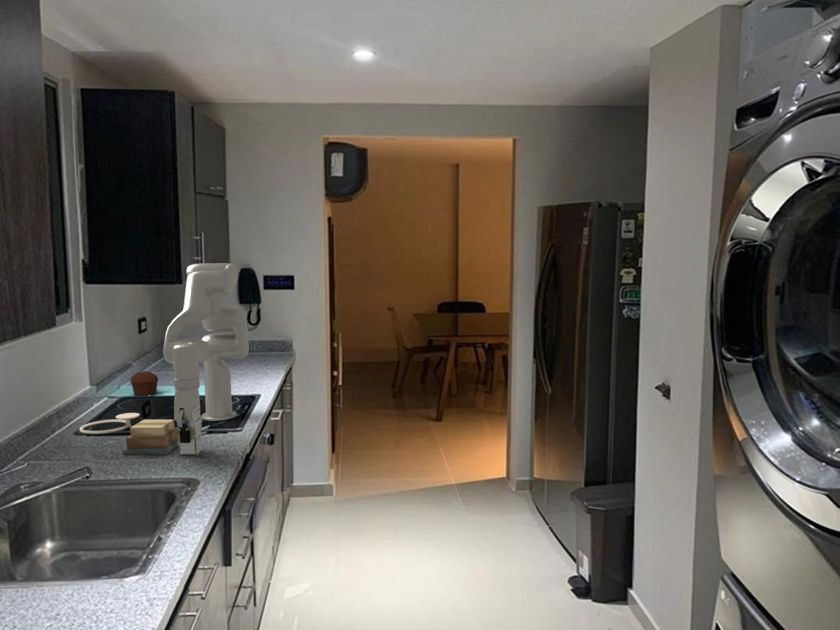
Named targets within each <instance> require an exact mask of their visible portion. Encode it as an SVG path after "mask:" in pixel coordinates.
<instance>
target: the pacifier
mask: <svg viewBox="0 0 840 630" xmlns="http://www.w3.org/2000/svg"><path fill="white" fill-rule="evenodd" d="M203 420H204V419H203V418H202V415H200V430H201V436H202V435H205V434H207V433H208V431H207V430H208V429H209V427H210V425H207V426H204V427H202V423H203Z"/></svg>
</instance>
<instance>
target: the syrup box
mask: <svg viewBox="0 0 840 630" xmlns="http://www.w3.org/2000/svg"><path fill="white" fill-rule="evenodd" d="M200 416H201V406H200V407H199V406H198V407H196V408H195V409H193V410H192V420H191V421H190V423H189V430H190V437H191V442H190V443H180V433H179V427H178V424H177V423H176V424H177V428H178V444H179V445H178V456H193V455H194V456H195V455H196V456H197V455H199V453H200V452H201V451H202V449H203V448H202V435H201V430H200ZM183 420H187V418H183ZM185 425H186V423H185Z"/></svg>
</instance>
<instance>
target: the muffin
mask: <svg viewBox="0 0 840 630" xmlns="http://www.w3.org/2000/svg"><path fill="white" fill-rule="evenodd" d="M158 381H159V377H158V375H156V374H155V373H154V372H151V371H139V372H136V373H135V374H133V375H132V377H130V379H129V382H130V383H131V386H132V392H133V395H134V396H148V395H153V396H155V395H157V389H158V388H157V387H158ZM154 394H155V395H154ZM148 397H149V396H148Z"/></svg>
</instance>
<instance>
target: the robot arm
mask: <svg viewBox="0 0 840 630" xmlns="http://www.w3.org/2000/svg"><path fill="white" fill-rule="evenodd" d="M238 275H239V274H238V268H237V267H236V266H235V264H233V263H230V262H224V263H223V262H217V263H215V262H214V263H209V262H207V263H205V262H202V263H201V262H200V263H193V264H190V265H189V266H187V268H186V277H187V278H186V283H185V291H184V292H185V293H184V299H183V306H182V307H183V309H182V311H181V312H180V313H179V314H177V315H176V316H175V317H174V318H173V319H172V321H171V322H170V324H169V325H168V326H167V329H166V330H165V335H164V342H163V350H162V353H163V358H164V360H165V361H166V362H167V363H168V364H172V366H173V368H172V369H173V385H174V390H175V391H174V400H173V405H174V406H173V409H174V410H173V411H174V413H173V414H174V415H173V416H174V419H173V420H174V422H176V424H178V425H177V428H178V427H179V433H180V443H190V442H191V437H190V430H189V423H190V421H191V420H192V410H193V409H195V408H196V407H198V406H199V407H200V408H201V399H200V392H199V388H200V387H201V386H200V385H201V383H200V381H201V380H200V365H199V364H203V365H202V367H203V378H204V379H203V380H204V381H203V382H204V383H203V384H204V400H205V412H204V413H202V415H201V416H202V418H203V420H204V421H208V422H210V421H211V422H216V421H217V422H219V421H226V420H230V419H234V418H235V417H236V416H237V412H236V411H235V410H233V401H232V399H233V398H232V382H231V380H232V379H231V375H232V374H231V369H230V367H229V365H228V364H227V363H226V362H225V360H235V359H237V360H238V359H239V360H240V359H244V358H247V356H249V351H250V349H249V348H250V346H249V344H250V343H249V333H248V332H249V331H248V318H247V313H246V311H245V308H244V307H243V306H241V305H234V304H233V305H232V304H231V305H228V304H227V305H226V303H225V297H224V296H228V295H229V294H230V293H232V291H233V289H234V288H235V286H236V284H237V282H238ZM201 322H202V327H203V329H205V330H206V331H208V332H230V333H210V334H206V335H203V337H202V338H201V339H177V338H178V336H179V334H181V333H182V332H183V331H184V330H186V329H188V328H190V327H192V326H194V325H196V324H198V323H201ZM231 332H232V333H231ZM183 418H187V420H183ZM185 423H186V425H185Z"/></svg>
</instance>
